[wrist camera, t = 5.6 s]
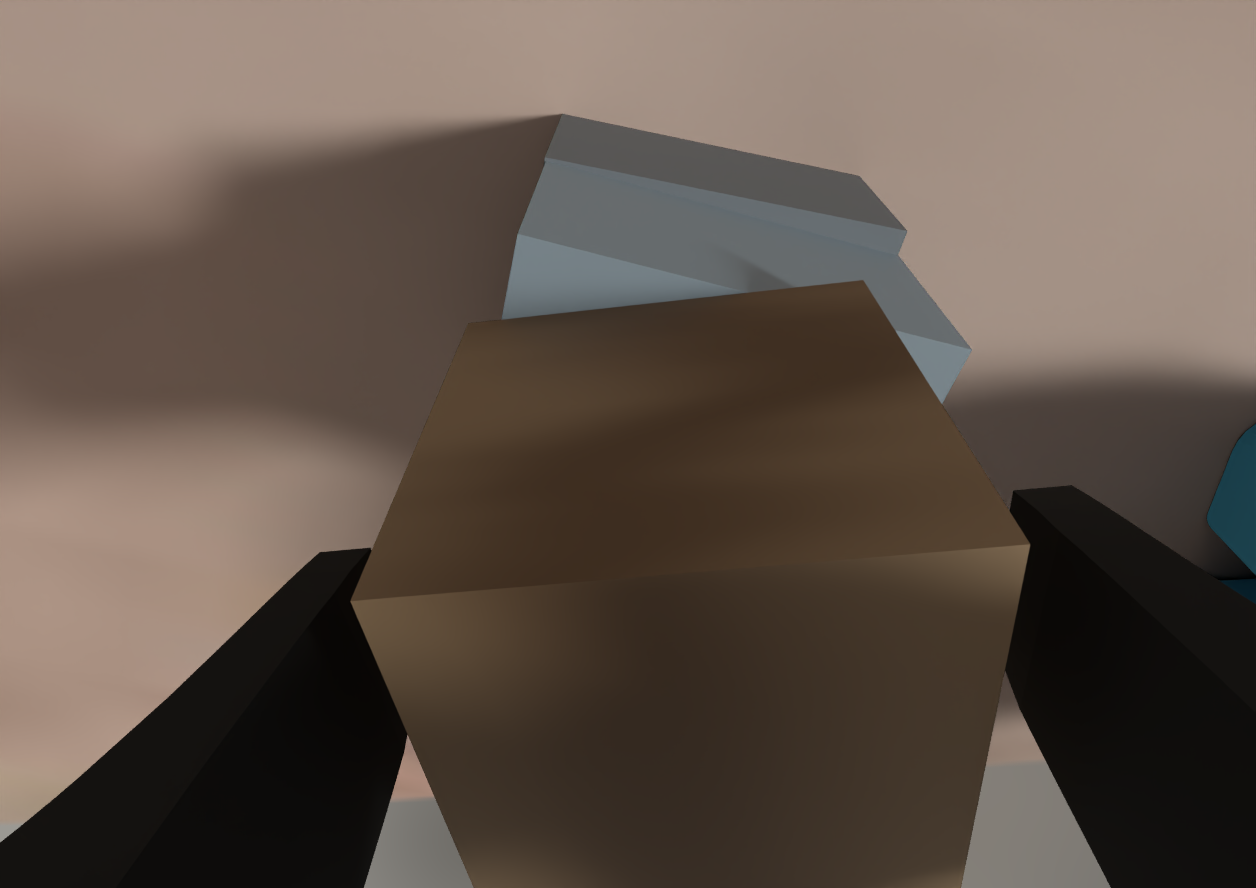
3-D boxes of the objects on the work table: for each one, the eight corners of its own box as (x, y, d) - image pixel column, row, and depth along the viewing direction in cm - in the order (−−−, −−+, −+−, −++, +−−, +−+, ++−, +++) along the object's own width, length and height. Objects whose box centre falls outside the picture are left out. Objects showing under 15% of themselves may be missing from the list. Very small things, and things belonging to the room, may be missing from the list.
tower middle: (898, 256, 13) (971, 350, 10) (772, 525, 16) (801, 656, 14) (546, 161, 12) (517, 234, 10) (485, 463, 16) (450, 588, 13)
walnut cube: (863, 280, 10) (1030, 543, 6) (850, 578, 13) (956, 906, 8) (468, 323, 10) (350, 601, 6) (539, 603, 13) (491, 929, 9)
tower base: (858, 174, 16) (907, 231, 13) (771, 423, 19) (795, 513, 16) (562, 112, 15) (545, 157, 12) (524, 380, 19) (503, 465, 16)
